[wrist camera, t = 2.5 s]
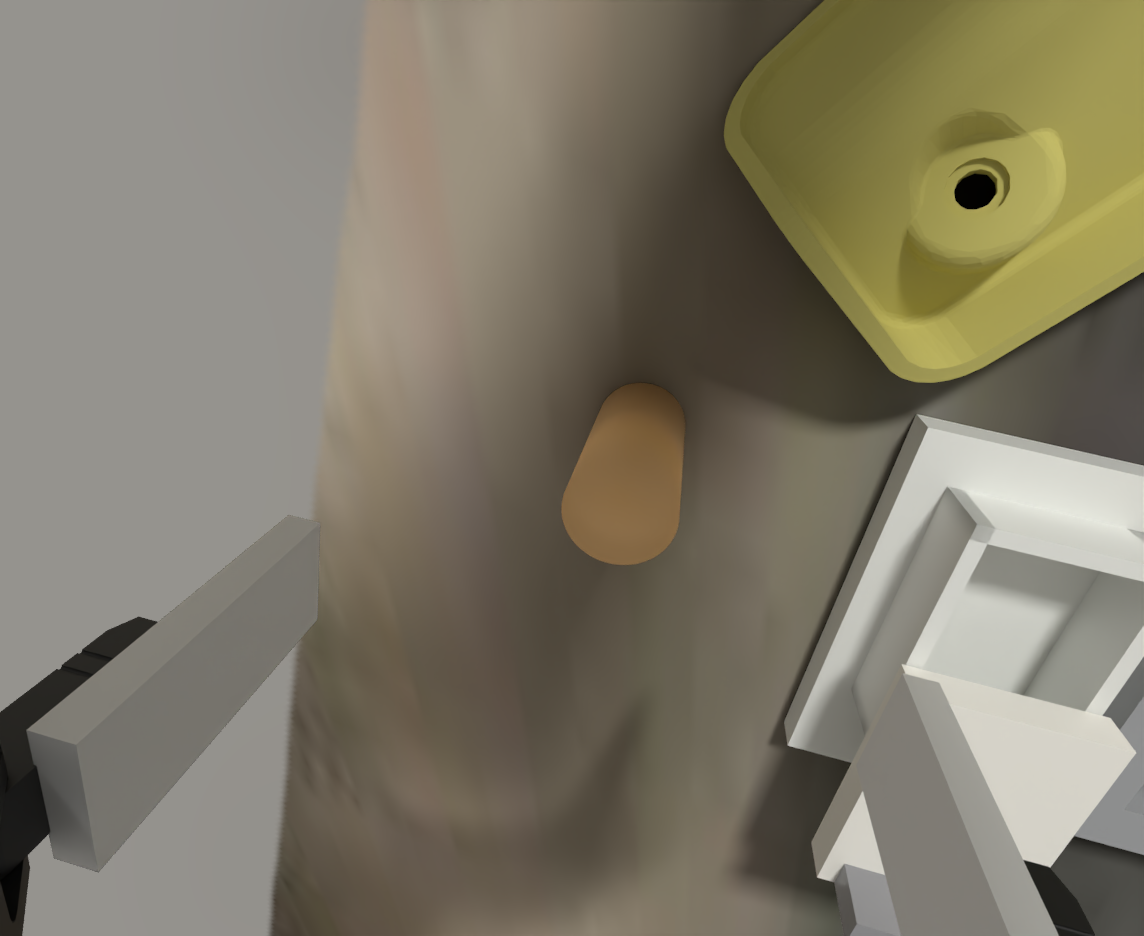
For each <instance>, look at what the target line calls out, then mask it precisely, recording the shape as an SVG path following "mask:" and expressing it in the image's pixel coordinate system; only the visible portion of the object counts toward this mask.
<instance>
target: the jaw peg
mask: <svg viewBox="0 0 1144 936" xmlns="http://www.w3.org/2000/svg"><path fill="white" fill-rule="evenodd" d="M684 440H685V417H684V413H683V410H682V408H681V406H680V404H679V403H678V401H677V400H676V399H675V398H674V397H673V395H671V394H670V393H669V392H668V391H666V390H665V389H663V388H661V387H659V386H656V385H653V384H648V383H633V384H628V385H625V386H622V387H621V388H619V389H617V390H615V391H614V392H613V393H611V394H610V395H609V396H608V397H607V399H606V400H605V401H604V403H603V404H602V407H601V409H600V411H599V413H598V416H597V418H596V420H595V423H594V425H593V427H592V430H591V432H590V434H589V437H588V439H587V441H586V444H585V446H584V448H583V451H582V453H581V455H580V457H579V460H578V462H577V464H576V467H575V469H574V471H573V474H572V476H571V478H570V481H569V483H568V485H567V488H566V490H565V492H564V495H563V499H562V506H561V510H562V519H563V523H564V526H565V528H566V531H567V533H568V534H569V536H570V538H571V539H572V540H573V542H574V543H575V544H576V545H577V546H578V547H579V548H580V549H581V550H582V551H584V552H585V553H586V554H588V555H590V556H591V557H593V558H595V559H597V560H600V561H603V562H606V563H610V564H615V565H633V564H638V563H642V562H645V561H648V560H650V559H652V558H654V557H656V556H657V555H659V554H660V553H661V552H663V551H664V550H665V549H666V548H667V547H668V546H669V544H670V543H671V542H672V540H673V538H674V536H675V534H676V532H677V529H678V525H679V516H680V501H681V486H682V471H683V456H684Z"/></svg>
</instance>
